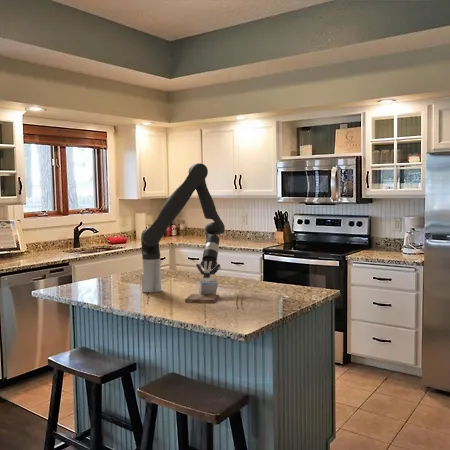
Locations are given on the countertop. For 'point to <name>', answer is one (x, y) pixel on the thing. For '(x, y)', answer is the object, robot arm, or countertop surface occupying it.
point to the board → (202, 298)
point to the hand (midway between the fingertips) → (206, 280)
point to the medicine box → (208, 286)
